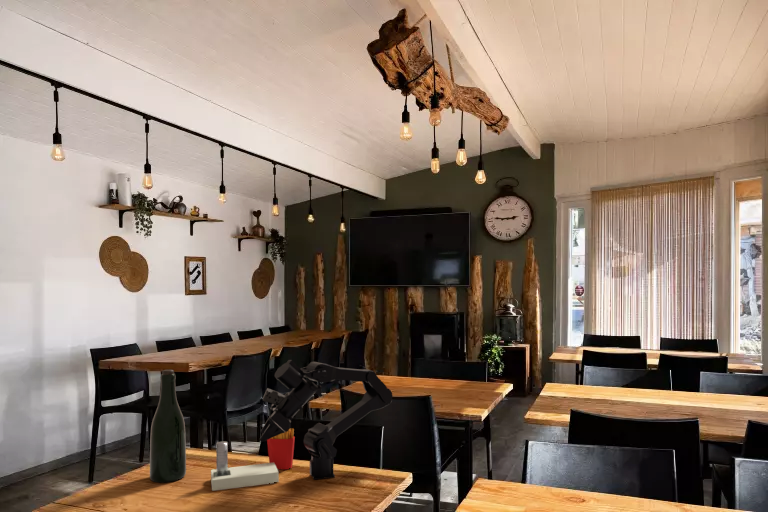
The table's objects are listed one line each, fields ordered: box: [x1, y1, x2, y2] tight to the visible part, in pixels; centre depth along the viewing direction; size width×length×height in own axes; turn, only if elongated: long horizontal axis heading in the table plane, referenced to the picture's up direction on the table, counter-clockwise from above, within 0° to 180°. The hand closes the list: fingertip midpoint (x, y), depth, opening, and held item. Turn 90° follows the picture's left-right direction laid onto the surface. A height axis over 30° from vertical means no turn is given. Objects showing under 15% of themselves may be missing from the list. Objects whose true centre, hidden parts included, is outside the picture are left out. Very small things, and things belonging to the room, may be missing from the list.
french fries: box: [266, 427, 296, 470], centre depth 184 cm, size 9×4×13 cm, turn 85°
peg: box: [215, 440, 229, 477], centre depth 170 cm, size 3×3×12 cm
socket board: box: [210, 462, 280, 491], centre depth 172 cm, size 19×10×3 cm, turn 108°
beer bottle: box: [149, 369, 187, 483], centre depth 177 cm, size 10×10×33 cm
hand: (261, 436), depth 170 cm, fingers open, 9 cm apart
